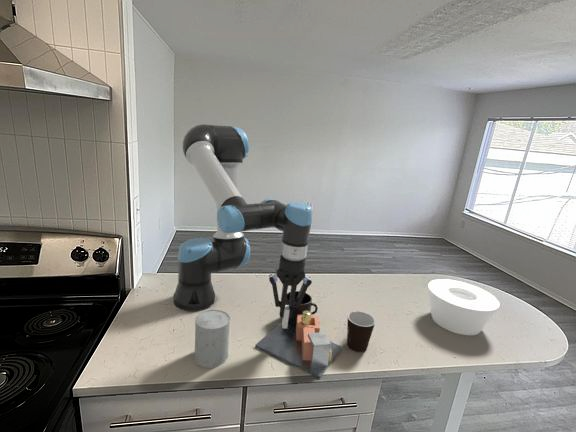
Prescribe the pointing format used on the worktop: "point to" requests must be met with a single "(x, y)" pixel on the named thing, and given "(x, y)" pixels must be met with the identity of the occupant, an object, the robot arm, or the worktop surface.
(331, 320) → the worktop surface
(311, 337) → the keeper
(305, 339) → the link
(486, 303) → the bowl
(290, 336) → the dark grey rectangular mat
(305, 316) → the post
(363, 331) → the coffee mug
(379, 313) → the worktop surface
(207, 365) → the white marble cylinder
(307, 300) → the mug
